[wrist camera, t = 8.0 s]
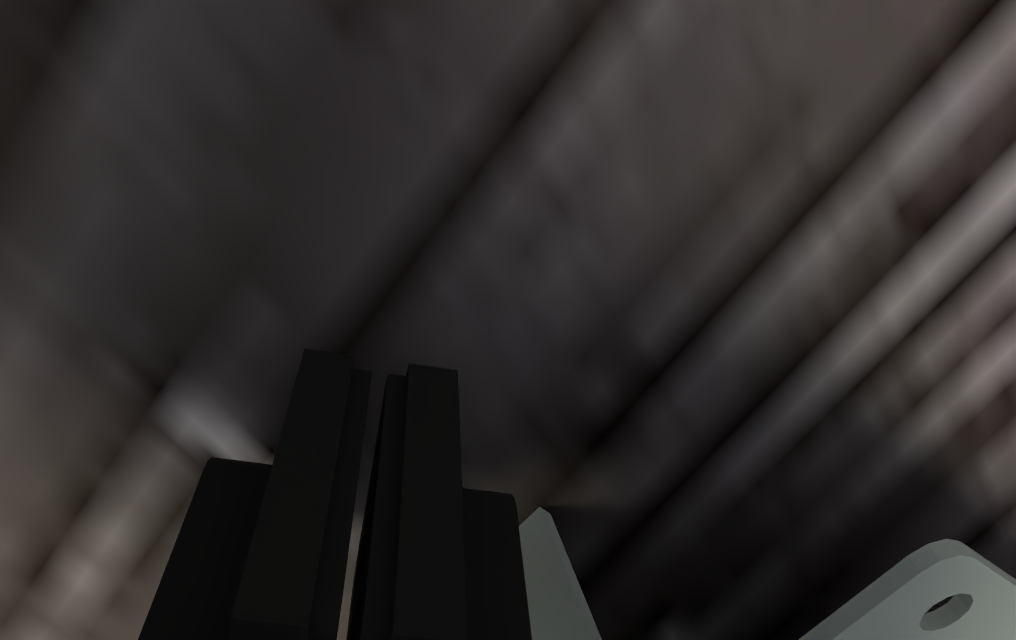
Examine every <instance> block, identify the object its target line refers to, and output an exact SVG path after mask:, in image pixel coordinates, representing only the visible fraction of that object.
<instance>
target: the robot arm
mask: <svg viewBox="0 0 1016 640" xmlns="http://www.w3.org/2000/svg"><path fill="white" fill-rule="evenodd" d="M353 364H354V356H352V355H345V354H338V353H331V352H324V351H317V350H310V349H305V350H304V353H303V356H302V360H301V363H300V367H299V371H298V374H297V378H296V381H295V385H294V389H293V392H292V396H291V400H290V403H289V407H288V411H287V414H286V418H285V421H284V425H283V429H282V432H281V436H280V440H279V443H278V447H277V450H276V454H275V458H274V461H273V465H270V464H262V463H254V462H245V461H237V460H229V459H221V458H213V457H211V458H210V459H209V460H208V461H207V463H206V466H205V468H204V470H203V473H202V475H201V478H200V480H199V483H198V486H197V488H196V491H195V493H194V496H193V498H192V501H191V504H190V506H189V509H188V511H187V514H186V517H185V519H184V522H183V524H182V527H181V530H180V532H179V535H178V537H177V540H176V543H175V545H174V548H173V550H172V553H171V556H170V558H169V561H168V563H167V566H166V568H165V571H164V574H163V576H162V579H161V581H160V584H159V587H158V589H157V592H156V594H155V597H154V600H153V602H152V605H151V607H150V610H149V613H148V615H147V618H146V620H145V623H144V626H143V628H142V631H141V633H140V636H139V638H138V640H336V639H337V632H338V625H339V618H340V611H341V604H342V596H343V589H344V581H345V573H346V566H347V558H348V551H349V543H350V535H351V528H352V520H353V513H354V505H355V497H356V490H357V482H358V475H359V467H360V460H361V452H362V444H363V437H364V429H365V422H366V414H367V406H368V399H369V391H370V384H371V376H372V371H366V370H359V369H353ZM346 640H532V634H531V626H530V617H529V609H528V600H527V592H526V583H525V575H524V567H523V558H522V550H521V541H520V533H519V524H518V516H517V507H516V502H515V498H514V496H513V495H512V494H506V493H498V492H490V491H482V490H474V489H465V488H462V475H461V447H460V418H459V390H458V371H457V370H451V369H444V368H437V367H430V366H423V365H416V364H409V365H408V368H407V373H406V376H402V375H395V374H388V375H387V380H386V386H385V392H384V398H383V404H382V410H381V416H380V422H379V428H378V434H377V440H376V446H375V452H374V459H373V465H372V471H371V477H370V483H369V489H368V495H367V501H366V507H365V513H364V519H363V525H362V531H361V538H360V544H359V550H358V556H357V562H356V568H355V575H354V582H353V589H352V597H351V606H350V614H349V622H348V631H347V639H346Z"/></svg>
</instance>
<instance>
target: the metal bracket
mask: <svg viewBox="0 0 1016 640" xmlns="http://www.w3.org/2000/svg"><path fill="white" fill-rule="evenodd" d="M519 533H520V541H521V550H522V558H523V567H524V575H525V583H526V592H527V600H528V609H529V617H530V626H531V634H532V640H602V639H601V636H600V634H599V631H598V629H597V627H596V624H595V622H594V619H593V617H592V614H591V612H590V609H589V607H588V604H587V602H586V600H585V597H584V595H583V592H582V590H581V587H580V585H579V582H578V580H577V577H576V575H575V573H574V570H573V568H572V565H571V563H570V560H569V558H568V555H567V553H566V551H565V548H564V546H563V543H562V541H561V538H560V536H559V533H558V531H557V528H556V526H555V524H554V521H553V519H552V516H551V514H550V513H548V512H547V511H545V510H544V509H543V508H541V507H539V508H538V509H537V510H536V511H534V512H533V513H532V514H531V515H530V516H529V517H528V518H527V519H526V520H525V521H524V522H523V523H522V524H521V525H519ZM954 595H955V596H954ZM950 596H954V597H953V598H952V599H951V600H949V601H948V602H947V603H946V604H945V605H943V606H941V607H939V608H938V609H936V610H934V611H932V612H928V613H926V612H927V611H928V610H929V609H930V608H931V607H932V606H933V605H935V604H937V603H938V602H940V601H942V600H944V599H945V598H947V597H950ZM799 640H1016V579H1015V578H1013V577H1012V576H1010V575H1009V574H1007V573H1006V572H1004V571H1003V570H1001V569H1000V568H998V567H997V566H995V565H994V564H993V563H991V562H990V561H988V560H987V559H985V558H984V557H982V556H981V555H979V554H978V553H976V552H975V551H974V550H972V549H971V548H969V547H968V546H966V545H965V544H963V543H962V542H960V541H956V540H951V539H943V540H940V541H936V542H932V543H929V544H926V545H925V546H923V547H921V548H920V549H918V550H916V551H914V552H913V553H911V554H909V555H908V556H906V557H905V558H904V559H903V560H901V561H900V562H899V563H897V564H896V565H895V566H893V567H892V568H891V569H890V570H888V571H887V572H886V573H884V574H883V575H882V576H880V577H879V578H878V579H877V580H875V581H874V582H873V583H871V584H870V585H869V586H868V587H866V588H865V589H864V590H862V591H861V592H860V593H858V594H857V595H856V596H855V597H853V598H852V599H851V600H849V601H848V602H847V603H845V604H844V605H843V606H842V607H840V608H839V609H838V610H836V611H835V612H834V613H832V614H831V615H830V616H829V617H827V618H826V619H825V620H823V621H822V622H821V623H819V624H818V625H817V626H816V627H814V628H813V629H812V630H810V631H809V632H808V633H807V634H805V635H804V636H803V637H801V638H800V639H799Z"/></svg>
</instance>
